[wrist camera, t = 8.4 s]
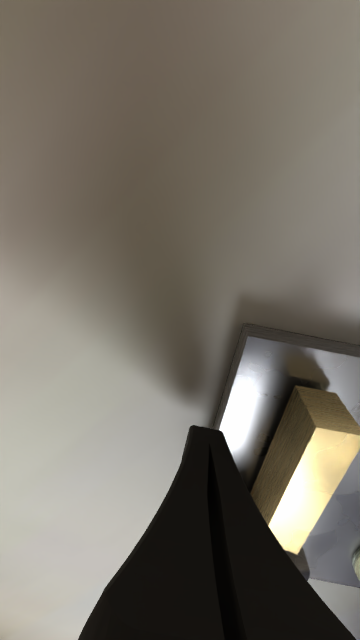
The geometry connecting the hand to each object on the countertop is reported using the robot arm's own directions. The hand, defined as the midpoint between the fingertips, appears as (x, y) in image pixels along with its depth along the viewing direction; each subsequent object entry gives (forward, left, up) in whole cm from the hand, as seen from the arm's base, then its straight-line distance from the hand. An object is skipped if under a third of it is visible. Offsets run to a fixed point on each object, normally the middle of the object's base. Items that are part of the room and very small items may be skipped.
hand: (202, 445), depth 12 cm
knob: (-1, -4, 0) cm, 4 cm away
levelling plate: (-2, -12, -2) cm, 13 cm away
